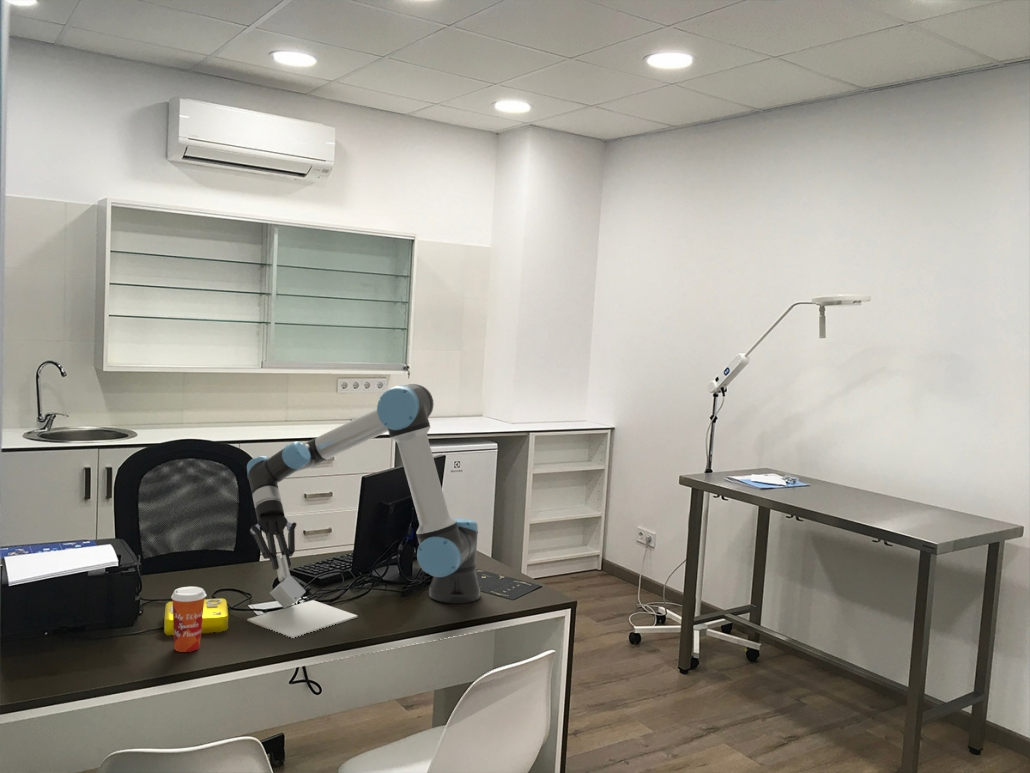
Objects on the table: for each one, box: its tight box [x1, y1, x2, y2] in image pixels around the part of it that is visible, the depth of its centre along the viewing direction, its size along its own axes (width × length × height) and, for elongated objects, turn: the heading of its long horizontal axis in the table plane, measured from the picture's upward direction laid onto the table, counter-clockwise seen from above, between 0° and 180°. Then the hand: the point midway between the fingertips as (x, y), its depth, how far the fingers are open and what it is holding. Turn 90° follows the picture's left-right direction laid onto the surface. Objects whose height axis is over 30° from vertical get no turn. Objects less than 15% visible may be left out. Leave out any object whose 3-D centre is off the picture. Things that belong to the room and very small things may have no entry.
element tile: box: [163, 598, 229, 636], centre depth 218 cm, size 15×15×5 cm
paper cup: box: [170, 586, 207, 653], centre depth 201 cm, size 8×8×14 cm
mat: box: [246, 599, 358, 639], centre depth 226 cm, size 18×22×1 cm
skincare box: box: [269, 575, 306, 609], centre depth 229 cm, size 6×4×12 cm
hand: (284, 578), depth 231 cm, fingers closed, pressing on skincare box
